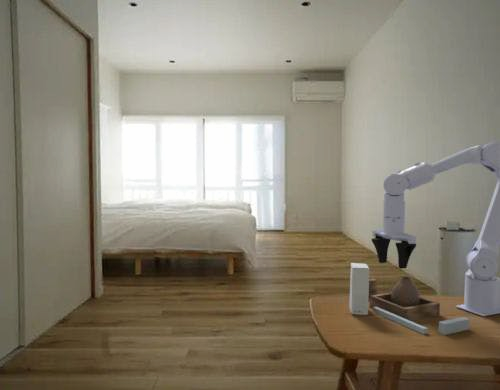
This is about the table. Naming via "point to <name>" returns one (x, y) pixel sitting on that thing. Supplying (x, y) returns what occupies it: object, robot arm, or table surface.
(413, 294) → the vase
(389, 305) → the wooden handled frame
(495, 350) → the table surface
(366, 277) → the skincare box
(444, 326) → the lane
